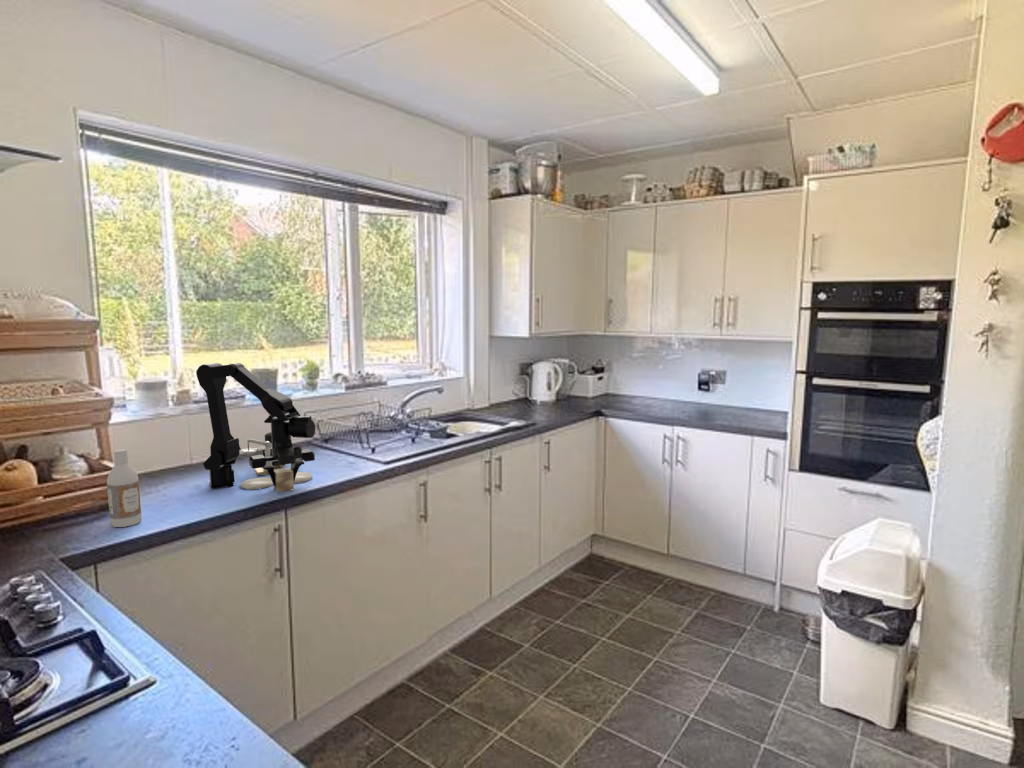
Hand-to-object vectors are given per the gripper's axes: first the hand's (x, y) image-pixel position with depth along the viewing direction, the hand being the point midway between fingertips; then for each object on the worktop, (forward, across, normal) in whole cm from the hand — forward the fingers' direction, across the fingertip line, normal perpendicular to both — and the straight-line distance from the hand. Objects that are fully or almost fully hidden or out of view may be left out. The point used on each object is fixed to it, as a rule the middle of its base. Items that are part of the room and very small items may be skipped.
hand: (283, 484), depth 186 cm
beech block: (+1, 0, 0) cm, 1 cm away
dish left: (+1, -6, +9) cm, 11 cm away
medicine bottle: (+2, +4, +32) cm, 32 cm away
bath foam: (+2, -42, -9) cm, 43 cm away
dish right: (+1, +6, +9) cm, 11 cm away
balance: (+1, 0, +23) cm, 23 cm away
